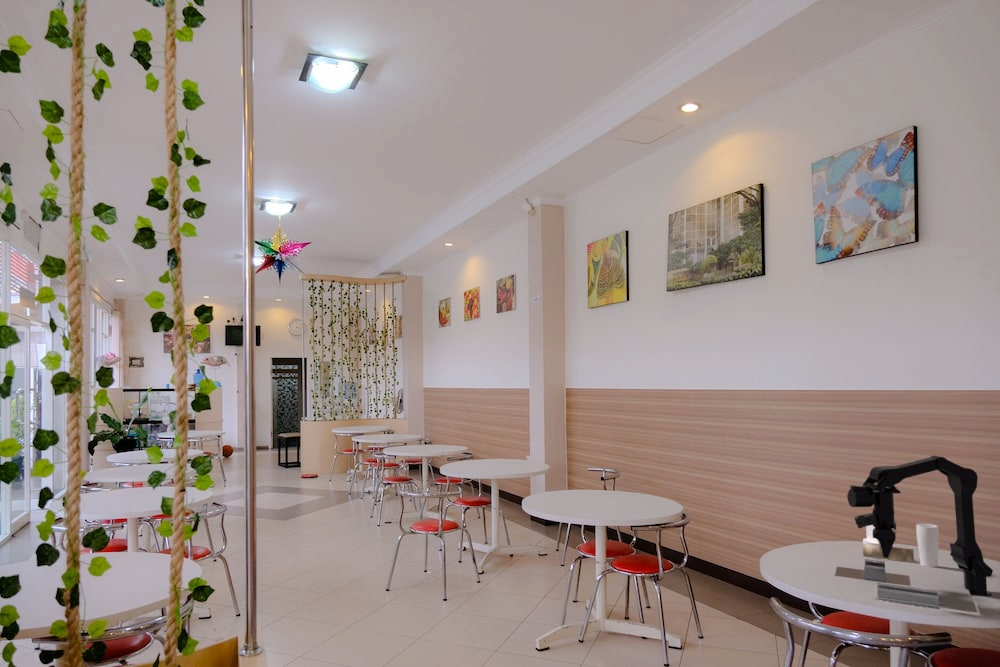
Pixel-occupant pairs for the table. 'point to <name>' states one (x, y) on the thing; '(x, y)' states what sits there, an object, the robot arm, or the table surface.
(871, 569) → the brown board with blocks
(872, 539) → the white stepped block
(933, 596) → the v block
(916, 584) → the table surface
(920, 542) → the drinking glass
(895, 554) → the wooden axle
